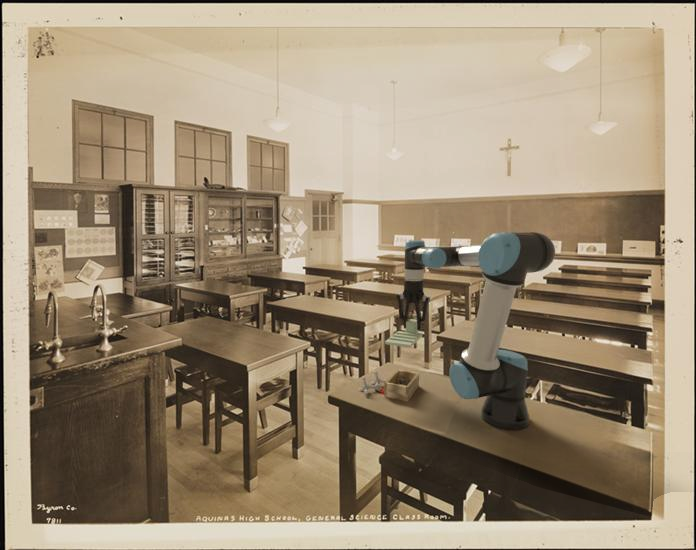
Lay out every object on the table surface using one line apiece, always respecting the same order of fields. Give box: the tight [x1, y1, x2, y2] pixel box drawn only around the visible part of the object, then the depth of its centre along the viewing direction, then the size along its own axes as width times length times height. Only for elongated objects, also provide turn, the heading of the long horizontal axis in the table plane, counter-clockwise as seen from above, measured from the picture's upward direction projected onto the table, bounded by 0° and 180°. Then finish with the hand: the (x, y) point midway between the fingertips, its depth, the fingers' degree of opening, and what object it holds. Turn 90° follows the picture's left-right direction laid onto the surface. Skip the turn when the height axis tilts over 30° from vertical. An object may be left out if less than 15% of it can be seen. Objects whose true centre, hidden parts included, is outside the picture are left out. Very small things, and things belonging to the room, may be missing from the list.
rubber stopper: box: [400, 379, 406, 385], centre depth 161 cm, size 2×2×3 cm
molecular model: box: [358, 370, 388, 395], centre depth 158 cm, size 14×8×10 cm
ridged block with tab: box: [384, 318, 423, 349], centre depth 157 cm, size 10×22×5 cm, turn 155°
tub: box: [383, 369, 420, 403], centre depth 157 cm, size 9×15×6 cm, turn 155°
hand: (412, 337), depth 164 cm, fingers closed on ridged block with tab, 3 cm apart
